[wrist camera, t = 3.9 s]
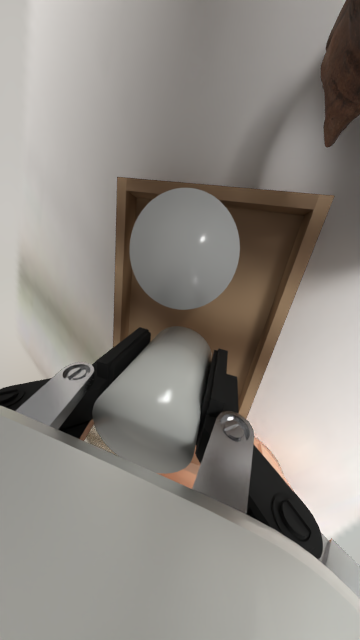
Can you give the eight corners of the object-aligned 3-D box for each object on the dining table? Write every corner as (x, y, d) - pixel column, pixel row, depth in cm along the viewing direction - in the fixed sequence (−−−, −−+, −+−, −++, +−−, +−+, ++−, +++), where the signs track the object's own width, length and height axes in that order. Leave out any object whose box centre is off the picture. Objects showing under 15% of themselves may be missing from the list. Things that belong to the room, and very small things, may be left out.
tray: (133, 188, 12) (117, 176, 10) (316, 207, 10) (334, 195, 8) (123, 381, 17) (111, 394, 16) (236, 420, 15) (237, 440, 13)
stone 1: (177, 219, 11) (132, 182, 6) (243, 227, 10) (256, 193, 5) (169, 282, 12) (126, 297, 7) (226, 294, 12) (222, 320, 7)
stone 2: (154, 319, 11) (89, 373, 6) (218, 335, 10) (205, 414, 5) (149, 370, 12) (94, 448, 8) (204, 388, 12) (184, 488, 7)
